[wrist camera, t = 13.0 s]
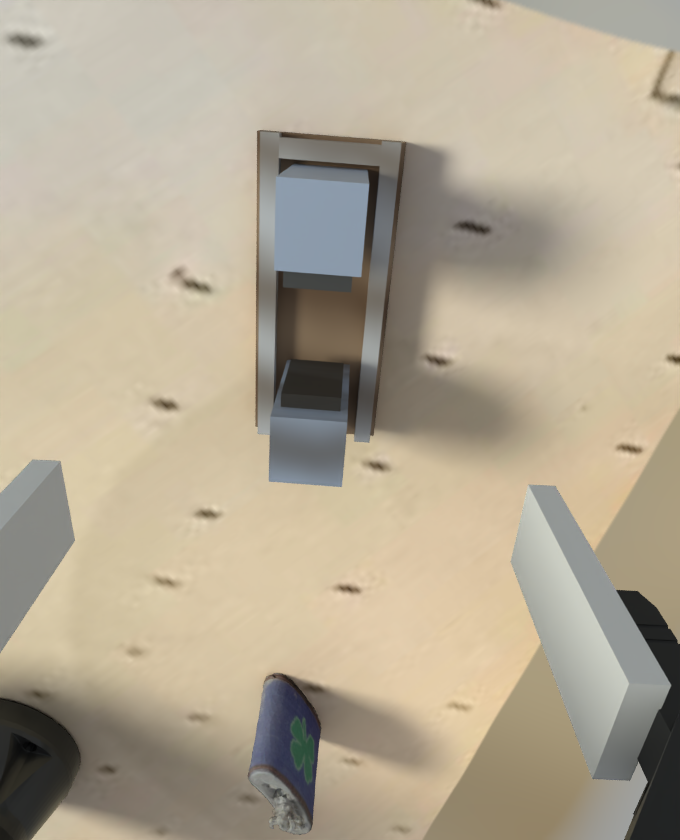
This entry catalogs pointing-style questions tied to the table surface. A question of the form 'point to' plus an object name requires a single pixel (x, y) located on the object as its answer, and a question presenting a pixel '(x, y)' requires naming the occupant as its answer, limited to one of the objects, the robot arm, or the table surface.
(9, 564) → the robot arm
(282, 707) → the flask
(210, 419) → the table surface
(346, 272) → the blue-grey rectangular block
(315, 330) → the rail board
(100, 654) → the table surface
